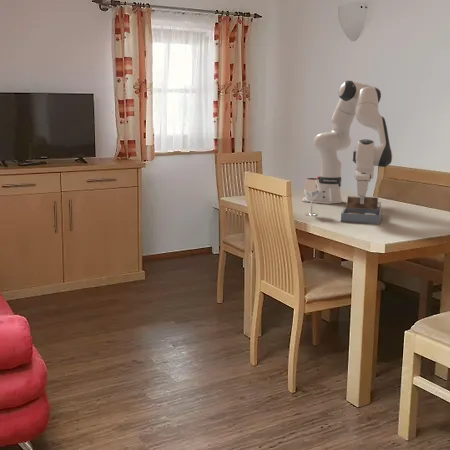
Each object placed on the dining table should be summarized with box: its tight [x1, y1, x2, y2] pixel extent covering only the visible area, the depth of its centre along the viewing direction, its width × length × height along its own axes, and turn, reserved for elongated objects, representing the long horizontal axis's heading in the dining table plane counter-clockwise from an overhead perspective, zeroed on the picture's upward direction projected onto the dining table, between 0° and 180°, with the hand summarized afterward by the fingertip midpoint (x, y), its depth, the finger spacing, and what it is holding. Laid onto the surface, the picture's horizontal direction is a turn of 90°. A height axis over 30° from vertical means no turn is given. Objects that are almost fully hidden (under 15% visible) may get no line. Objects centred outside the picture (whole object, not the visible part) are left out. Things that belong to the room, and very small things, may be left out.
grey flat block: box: [345, 201, 382, 211], centre depth 304 cm, size 16×14×6 cm
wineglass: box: [303, 177, 321, 217], centre depth 303 cm, size 8×8×18 cm
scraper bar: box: [346, 195, 379, 209], centre depth 292 cm, size 14×3×5 cm, turn 74°
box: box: [340, 208, 383, 225], centre depth 292 cm, size 18×13×4 cm
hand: (362, 203), depth 292 cm, fingers closed on scraper bar, 3 cm apart
